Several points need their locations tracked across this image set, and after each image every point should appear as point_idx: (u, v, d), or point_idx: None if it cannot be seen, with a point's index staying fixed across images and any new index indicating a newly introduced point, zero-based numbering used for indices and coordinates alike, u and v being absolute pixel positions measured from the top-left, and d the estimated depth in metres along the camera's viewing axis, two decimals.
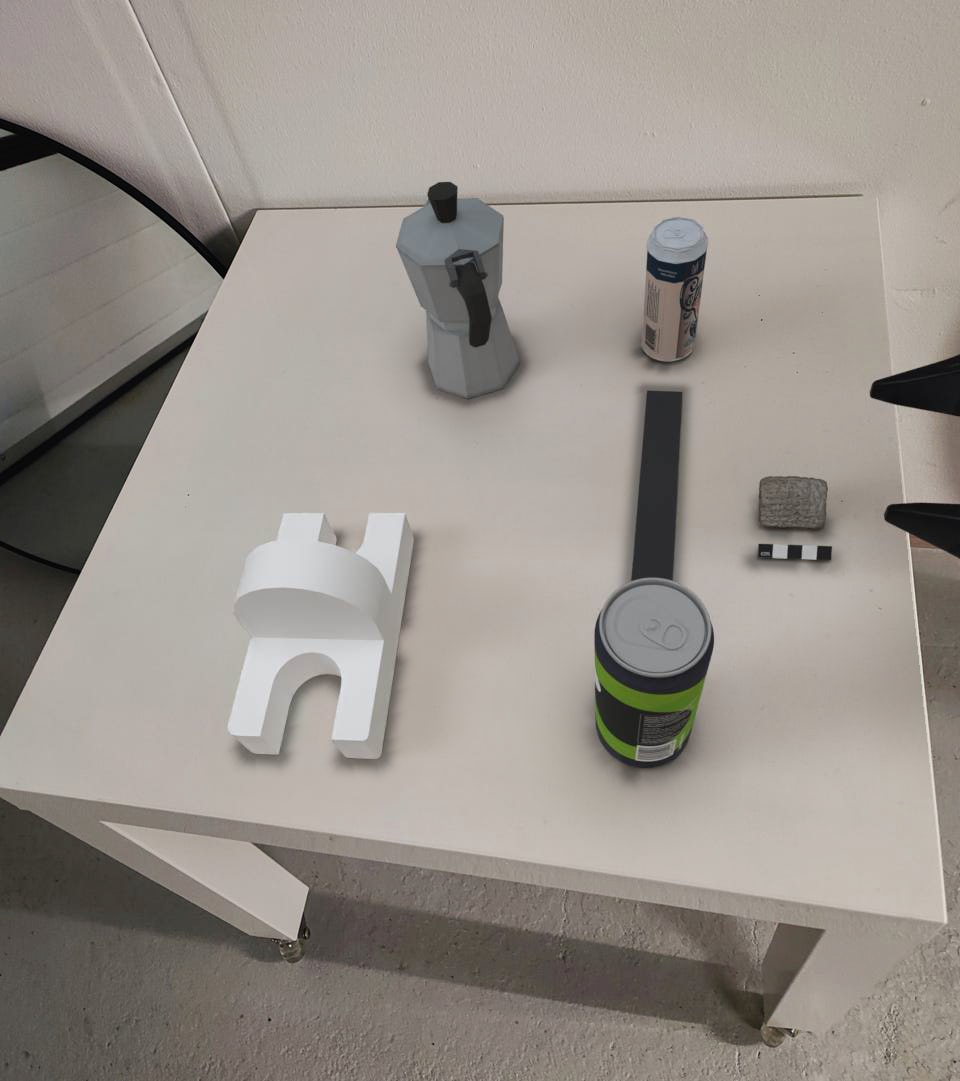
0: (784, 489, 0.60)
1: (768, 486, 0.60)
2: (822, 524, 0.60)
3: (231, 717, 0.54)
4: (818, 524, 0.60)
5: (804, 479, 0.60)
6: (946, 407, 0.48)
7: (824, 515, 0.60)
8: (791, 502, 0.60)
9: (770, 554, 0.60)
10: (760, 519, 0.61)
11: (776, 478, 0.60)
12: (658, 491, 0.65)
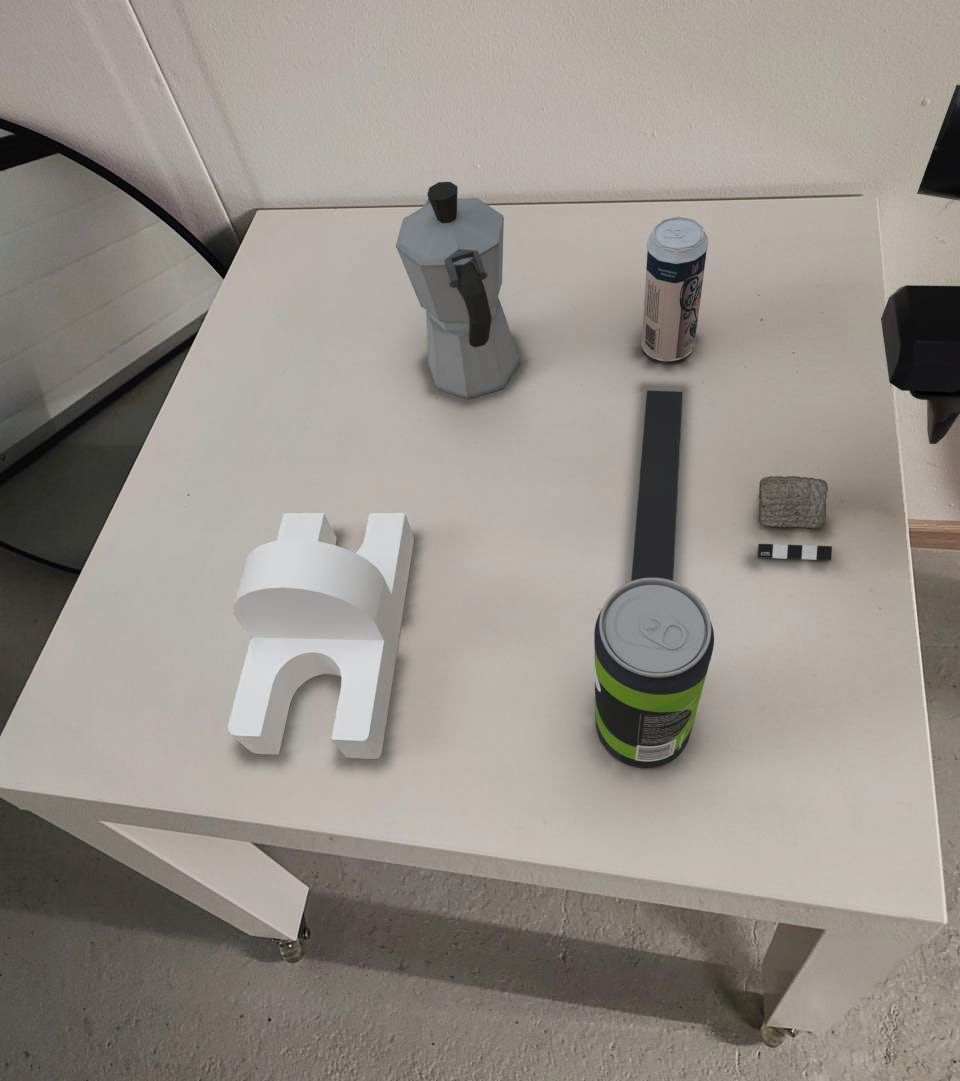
0: (784, 489, 0.60)
1: (768, 486, 0.60)
2: (822, 524, 0.60)
3: (231, 717, 0.54)
4: (818, 524, 0.60)
5: (804, 479, 0.60)
6: None
7: (824, 515, 0.60)
8: (791, 502, 0.60)
9: (770, 554, 0.60)
10: (760, 519, 0.61)
11: (776, 478, 0.60)
12: (658, 491, 0.65)
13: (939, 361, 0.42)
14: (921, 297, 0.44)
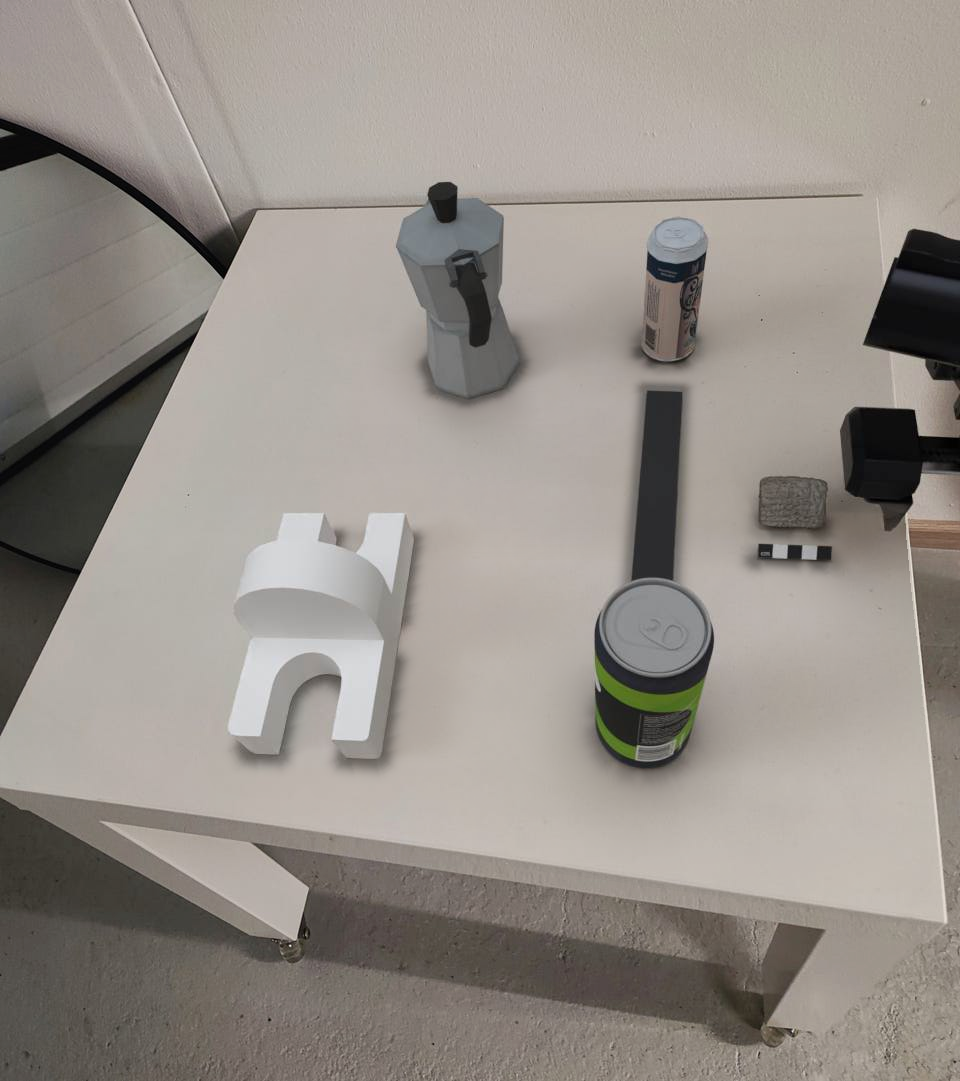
0: (785, 489, 0.60)
1: (768, 486, 0.60)
2: (822, 524, 0.60)
3: (231, 717, 0.54)
4: (818, 524, 0.60)
5: (804, 479, 0.60)
6: None
7: (824, 515, 0.60)
8: (791, 502, 0.60)
9: (770, 554, 0.60)
10: (760, 519, 0.61)
11: (776, 478, 0.60)
12: (658, 491, 0.65)
13: (884, 476, 0.50)
14: (871, 419, 0.52)
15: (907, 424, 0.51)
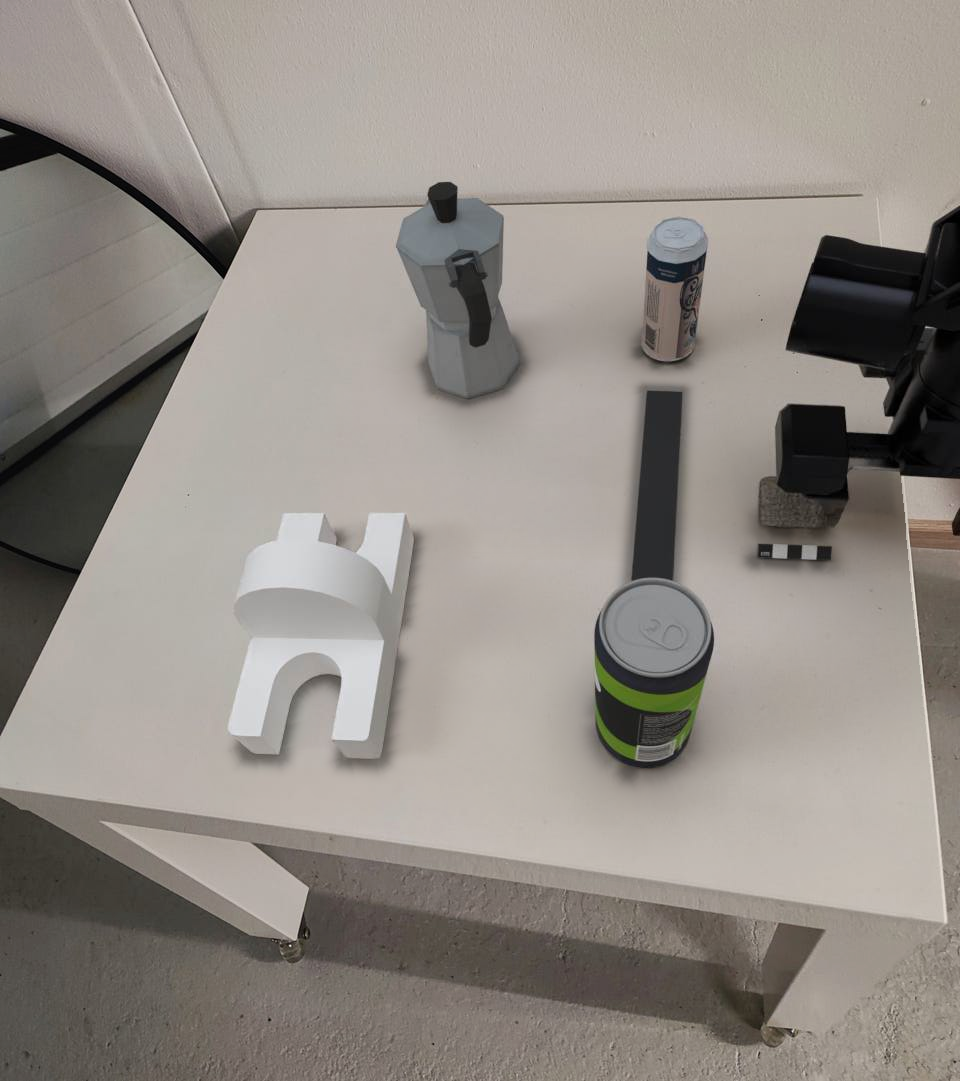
0: None
1: (768, 486, 0.60)
2: (822, 524, 0.60)
3: (231, 717, 0.54)
4: (818, 524, 0.60)
5: None
6: None
7: (824, 515, 0.60)
8: (791, 502, 0.60)
9: (770, 554, 0.60)
10: (760, 519, 0.61)
11: None
12: (658, 491, 0.65)
13: (812, 472, 0.51)
14: (802, 415, 0.53)
15: (836, 420, 0.52)
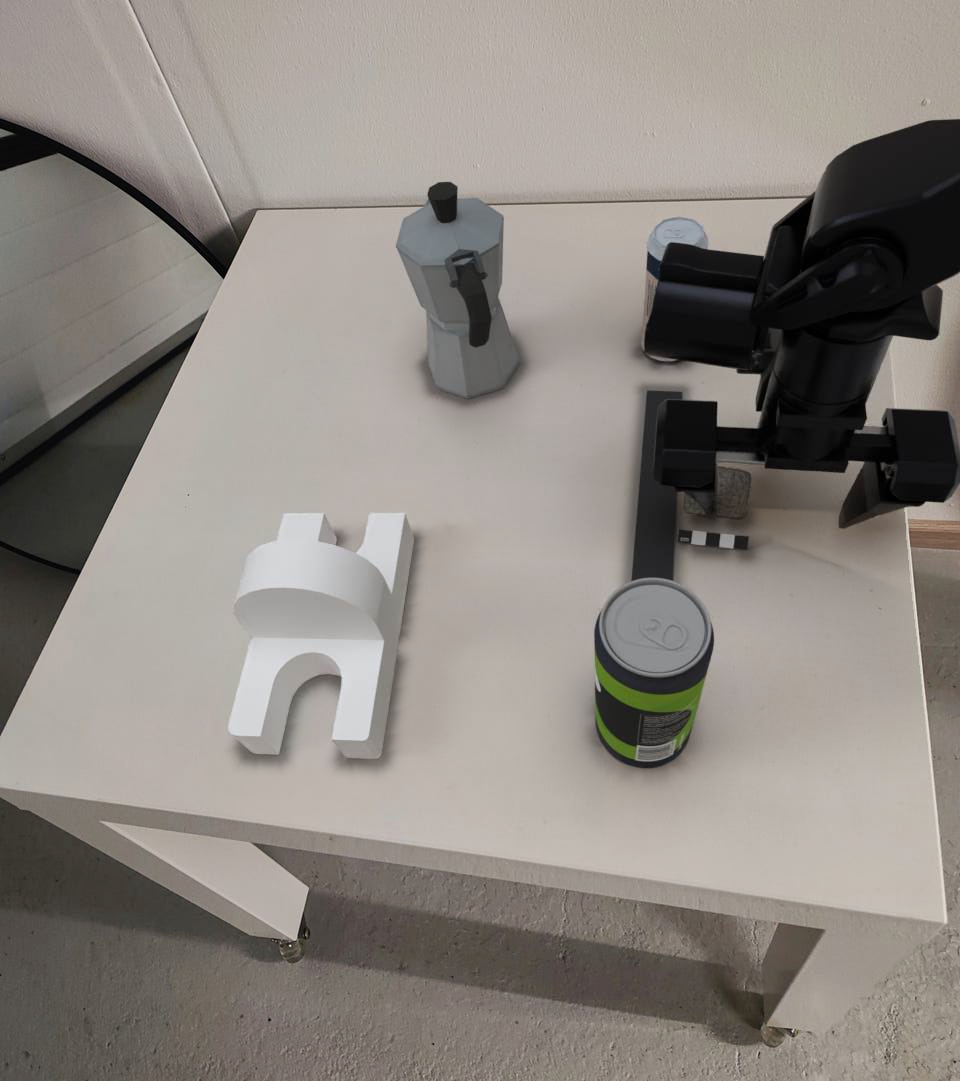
0: None
1: None
2: (744, 515, 0.61)
3: (231, 717, 0.54)
4: (739, 514, 0.61)
5: (729, 469, 0.61)
6: (863, 505, 0.55)
7: (746, 506, 0.61)
8: None
9: (689, 540, 0.61)
10: (684, 506, 0.62)
11: None
12: (658, 491, 0.65)
13: (682, 465, 0.53)
14: (676, 410, 0.54)
15: (708, 415, 0.54)
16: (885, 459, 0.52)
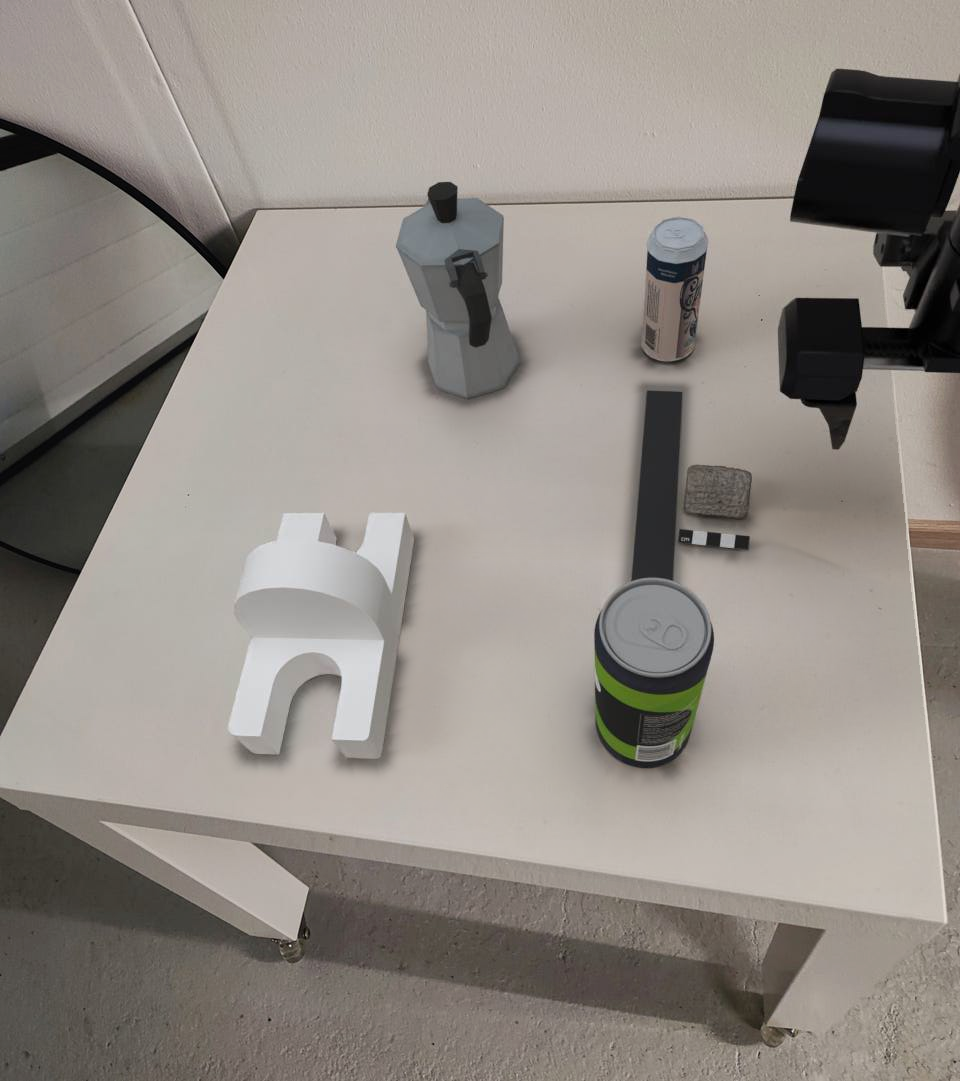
0: (710, 478, 0.61)
1: (694, 474, 0.62)
2: (744, 514, 0.61)
3: (231, 717, 0.54)
4: (740, 514, 0.61)
5: (729, 469, 0.61)
6: None
7: (747, 506, 0.61)
8: (715, 491, 0.61)
9: (690, 540, 0.61)
10: (685, 506, 0.62)
11: (703, 467, 0.62)
12: (658, 491, 0.65)
13: (822, 371, 0.44)
14: (809, 309, 0.45)
15: (849, 313, 0.45)
16: None
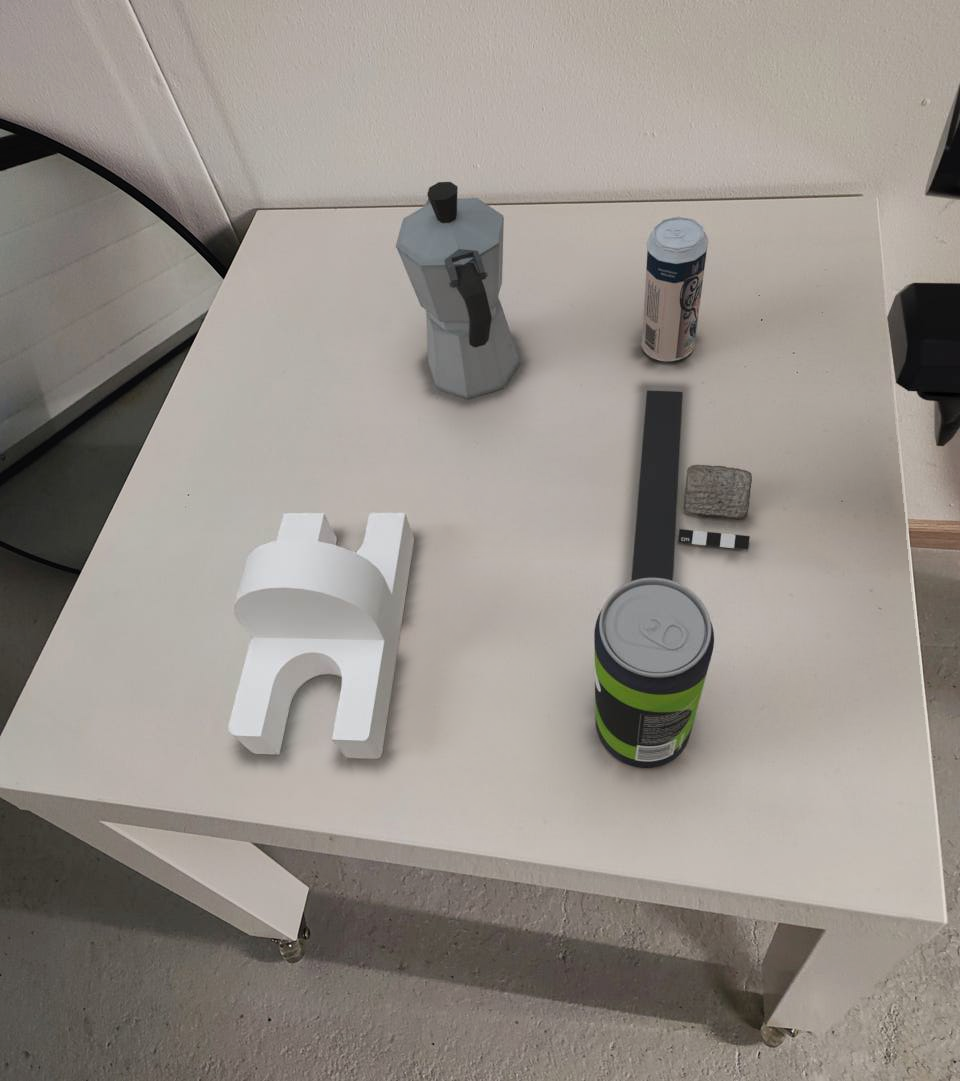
0: (710, 478, 0.61)
1: (694, 474, 0.62)
2: (744, 514, 0.61)
3: (232, 717, 0.54)
4: (740, 514, 0.61)
5: (729, 469, 0.61)
6: None
7: (747, 506, 0.61)
8: (715, 491, 0.61)
9: (690, 540, 0.61)
10: (685, 506, 0.62)
11: (703, 467, 0.62)
12: (658, 491, 0.65)
13: (948, 361, 0.41)
14: (929, 295, 0.42)
15: None
16: None
